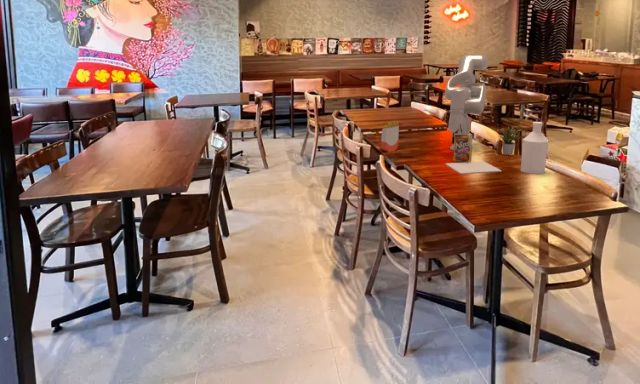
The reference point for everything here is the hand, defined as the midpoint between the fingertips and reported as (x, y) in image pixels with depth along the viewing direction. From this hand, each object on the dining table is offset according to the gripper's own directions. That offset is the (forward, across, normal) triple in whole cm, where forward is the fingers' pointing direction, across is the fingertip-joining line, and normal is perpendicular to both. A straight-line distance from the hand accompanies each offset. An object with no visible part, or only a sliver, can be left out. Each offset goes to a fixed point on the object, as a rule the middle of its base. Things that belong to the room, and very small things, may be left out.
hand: (455, 143), depth 290 cm
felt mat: (+8, +24, 0) cm, 25 cm away
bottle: (+9, +36, +27) cm, 46 cm away
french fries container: (+8, -26, -31) cm, 41 cm away
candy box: (+8, +11, 0) cm, 14 cm away
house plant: (+8, -1, +34) cm, 35 cm away
